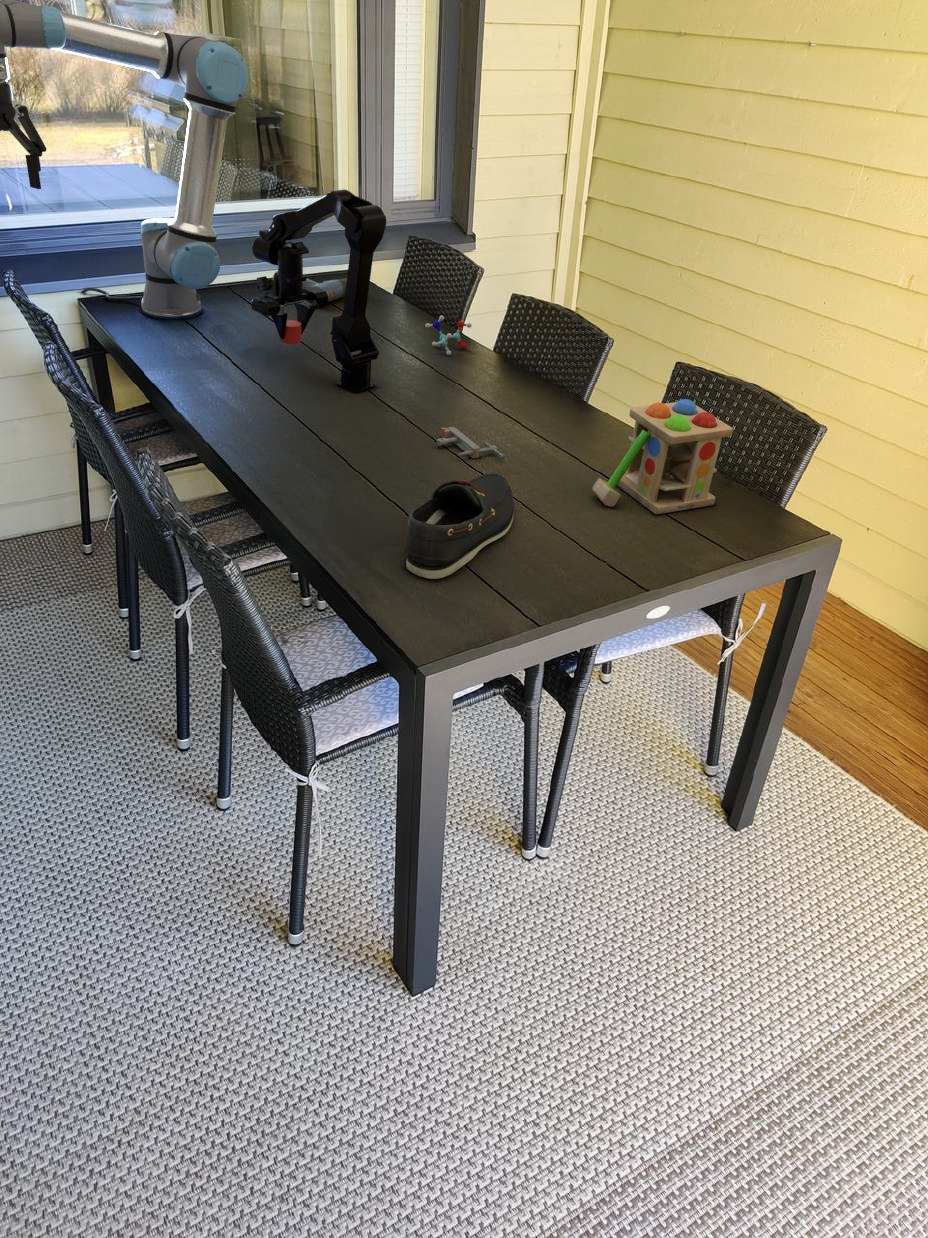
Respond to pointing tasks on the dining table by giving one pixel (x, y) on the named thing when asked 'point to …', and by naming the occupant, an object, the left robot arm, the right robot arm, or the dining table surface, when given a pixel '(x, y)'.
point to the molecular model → (448, 335)
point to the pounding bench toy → (668, 458)
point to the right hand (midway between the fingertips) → (291, 336)
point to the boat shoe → (457, 524)
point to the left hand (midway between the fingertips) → (9, 191)
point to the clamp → (464, 443)
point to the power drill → (328, 287)
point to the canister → (292, 332)
